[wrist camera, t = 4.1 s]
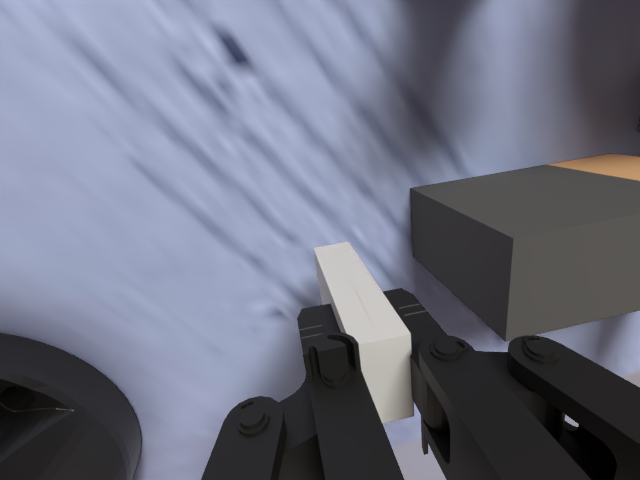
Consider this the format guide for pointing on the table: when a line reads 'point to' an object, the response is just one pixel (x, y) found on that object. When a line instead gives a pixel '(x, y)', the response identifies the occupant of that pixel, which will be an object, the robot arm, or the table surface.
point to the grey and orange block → (536, 242)
